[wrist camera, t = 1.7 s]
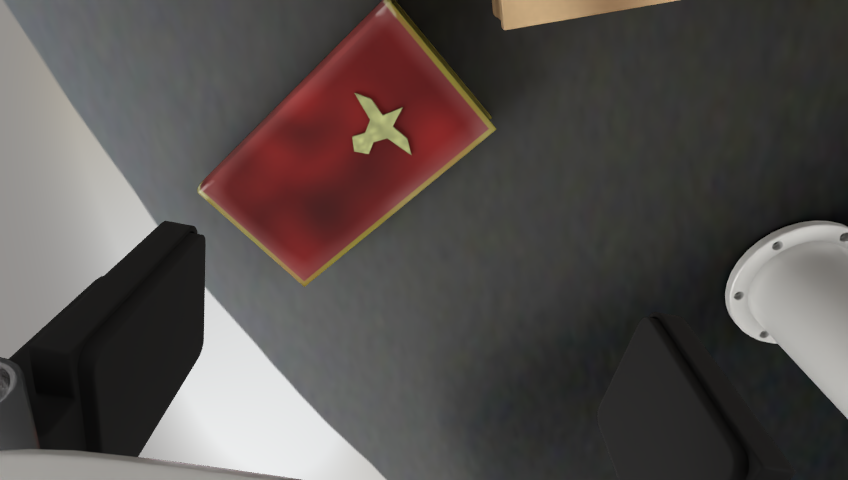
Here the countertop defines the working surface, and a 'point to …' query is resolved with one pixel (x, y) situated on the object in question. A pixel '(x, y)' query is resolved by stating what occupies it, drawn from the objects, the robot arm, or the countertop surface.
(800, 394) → the countertop surface
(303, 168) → the hardcover book
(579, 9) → the stand
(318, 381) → the countertop surface
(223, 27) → the countertop surface
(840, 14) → the countertop surface
